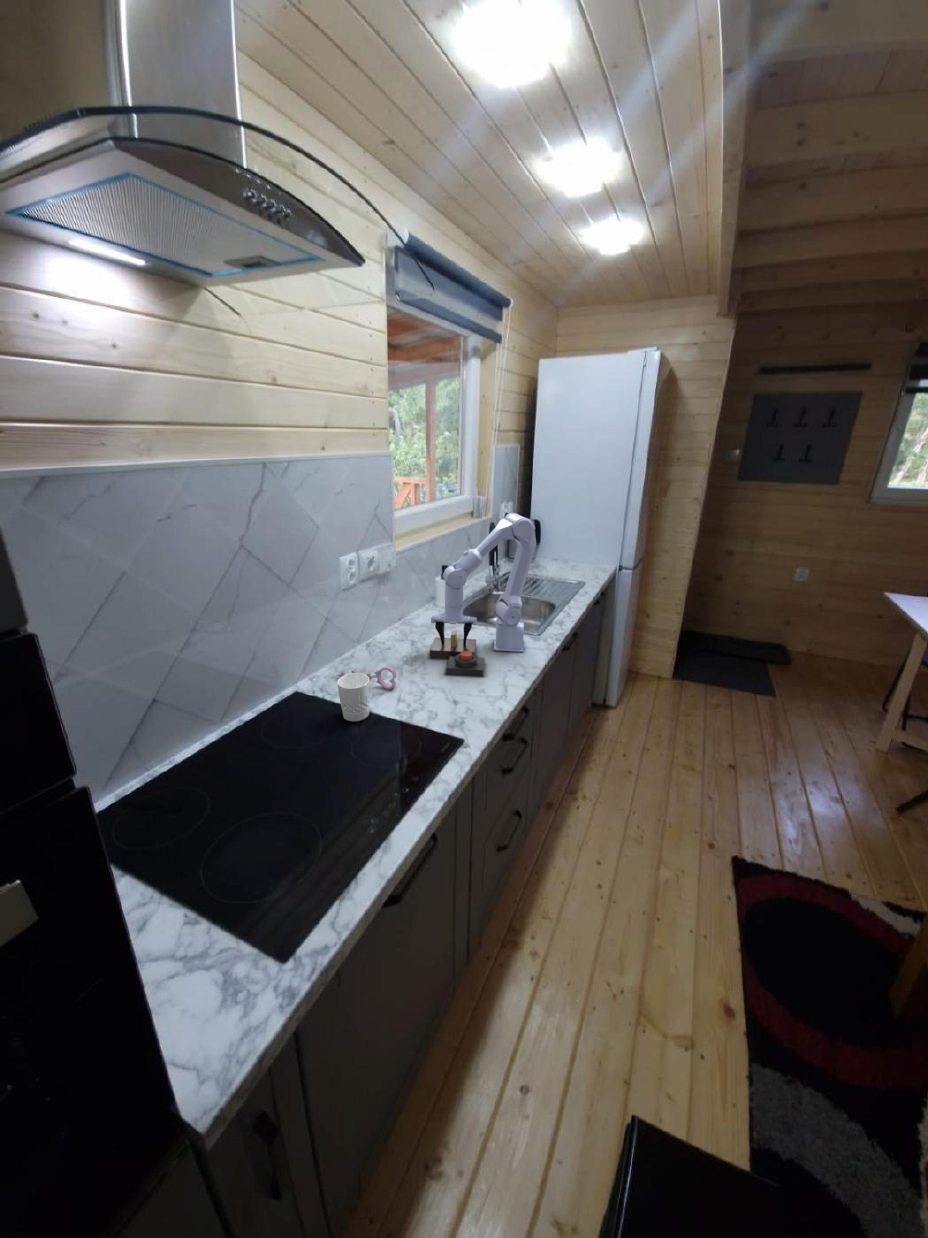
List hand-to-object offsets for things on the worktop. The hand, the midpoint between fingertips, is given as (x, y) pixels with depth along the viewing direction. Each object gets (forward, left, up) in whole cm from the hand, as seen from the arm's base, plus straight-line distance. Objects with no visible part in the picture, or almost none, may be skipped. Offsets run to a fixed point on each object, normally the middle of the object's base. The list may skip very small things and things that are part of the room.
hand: (453, 643), depth 161 cm
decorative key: (+23, +23, -4) cm, 33 cm away
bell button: (-5, +11, 0) cm, 12 cm away
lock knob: (0, 0, 0) cm, 0 cm away
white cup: (+21, +39, -3) cm, 44 cm away
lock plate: (0, 0, -3) cm, 3 cm away
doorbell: (-5, +11, -3) cm, 13 cm away
